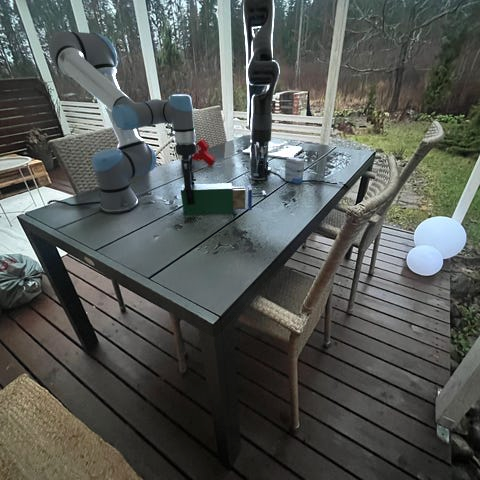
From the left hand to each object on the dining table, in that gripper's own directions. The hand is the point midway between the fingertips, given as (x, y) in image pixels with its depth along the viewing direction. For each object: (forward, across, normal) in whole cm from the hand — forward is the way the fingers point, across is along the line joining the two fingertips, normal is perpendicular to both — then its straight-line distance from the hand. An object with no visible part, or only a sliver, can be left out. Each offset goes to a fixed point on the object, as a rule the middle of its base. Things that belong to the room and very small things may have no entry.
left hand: (191, 200), depth 111 cm
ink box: (+5, -32, +50) cm, 60 cm away
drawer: (+4, 0, +18) cm, 19 cm away
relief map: (+5, -92, +50) cm, 104 cm away
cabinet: (+5, 0, +7) cm, 8 cm away
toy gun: (+5, -65, -1) cm, 66 cm away
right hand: (-11, 0, +28) cm, 30 cm away
